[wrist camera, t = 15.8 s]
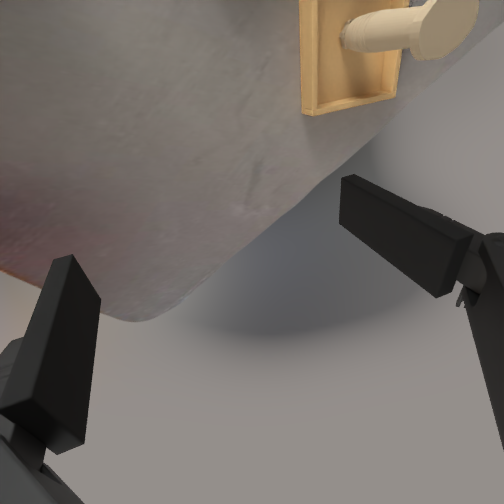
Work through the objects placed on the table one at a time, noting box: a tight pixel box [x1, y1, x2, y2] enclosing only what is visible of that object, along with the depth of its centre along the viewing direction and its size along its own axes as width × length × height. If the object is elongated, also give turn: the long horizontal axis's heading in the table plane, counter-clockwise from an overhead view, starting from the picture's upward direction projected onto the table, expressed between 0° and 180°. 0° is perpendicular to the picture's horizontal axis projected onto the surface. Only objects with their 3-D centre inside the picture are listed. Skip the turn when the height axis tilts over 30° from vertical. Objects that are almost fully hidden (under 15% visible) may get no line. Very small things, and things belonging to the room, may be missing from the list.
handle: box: [339, 0, 479, 60], centre depth 32 cm, size 5×6×15 cm
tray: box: [299, 0, 409, 116], centre depth 37 cm, size 17×14×3 cm
